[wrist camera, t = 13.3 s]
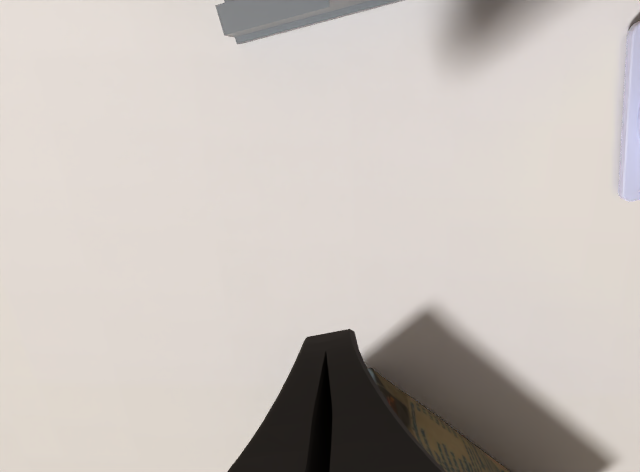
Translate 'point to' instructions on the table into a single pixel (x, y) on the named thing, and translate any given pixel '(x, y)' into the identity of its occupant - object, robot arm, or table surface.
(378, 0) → the housing
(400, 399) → the beverage carton
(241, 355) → the table surface
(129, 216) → the table surface
